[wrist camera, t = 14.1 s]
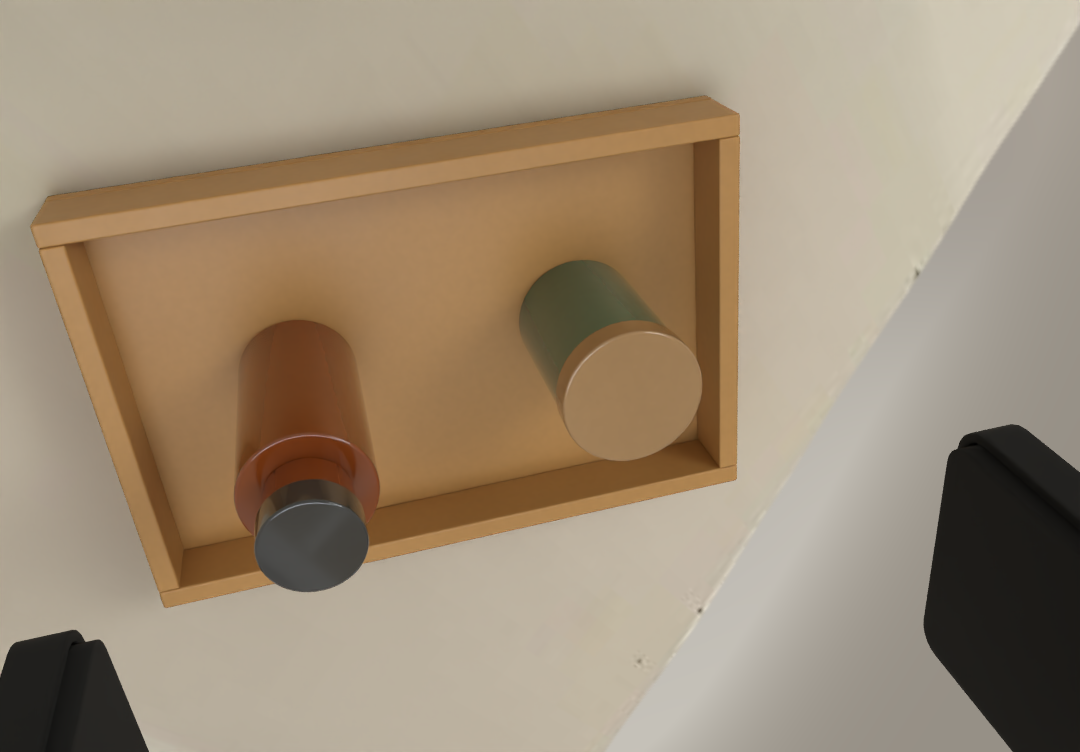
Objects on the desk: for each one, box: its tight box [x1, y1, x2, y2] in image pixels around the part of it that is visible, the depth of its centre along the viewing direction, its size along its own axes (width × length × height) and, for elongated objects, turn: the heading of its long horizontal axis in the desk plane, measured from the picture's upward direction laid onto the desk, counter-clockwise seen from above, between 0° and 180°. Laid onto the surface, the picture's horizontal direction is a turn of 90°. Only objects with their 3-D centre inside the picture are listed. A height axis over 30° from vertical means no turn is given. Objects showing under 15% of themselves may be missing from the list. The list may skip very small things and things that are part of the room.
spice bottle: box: [234, 320, 380, 592], centre depth 33 cm, size 4×4×11 cm
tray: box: [30, 96, 740, 608], centre depth 38 cm, size 16×24×3 cm, turn 95°
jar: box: [519, 260, 702, 461], centre depth 37 cm, size 5×5×7 cm
